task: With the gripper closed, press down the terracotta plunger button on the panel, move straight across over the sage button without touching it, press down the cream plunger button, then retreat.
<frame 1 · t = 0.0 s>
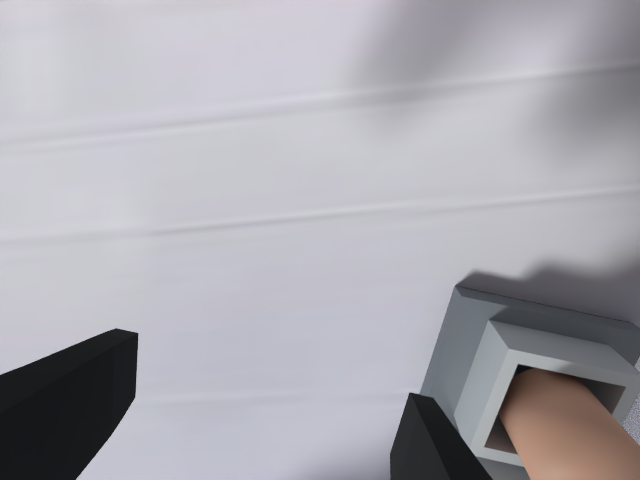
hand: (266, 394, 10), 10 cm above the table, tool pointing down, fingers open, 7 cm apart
button panel: (476, 466, 22), on the table
terracotta button: (565, 438, 15), point 5 cm above the table, slide at 0.0 cm
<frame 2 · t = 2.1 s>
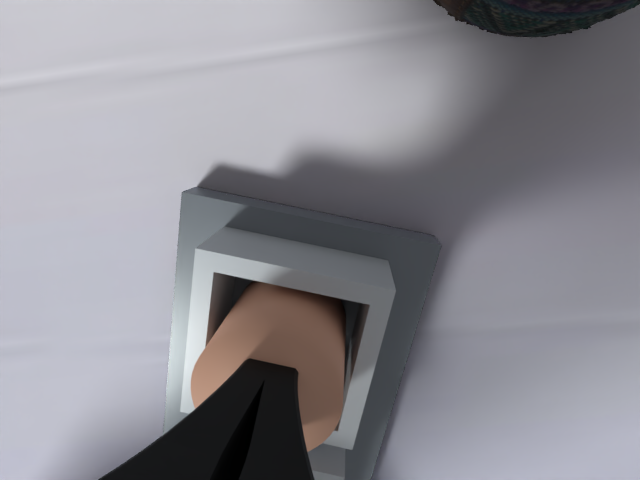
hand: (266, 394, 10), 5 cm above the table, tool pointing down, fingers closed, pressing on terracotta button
button panel: (271, 438, 17), on the table
terracotta button: (280, 352, 12), point 4 cm above the table, slide at 1.3 cm, touching gripper
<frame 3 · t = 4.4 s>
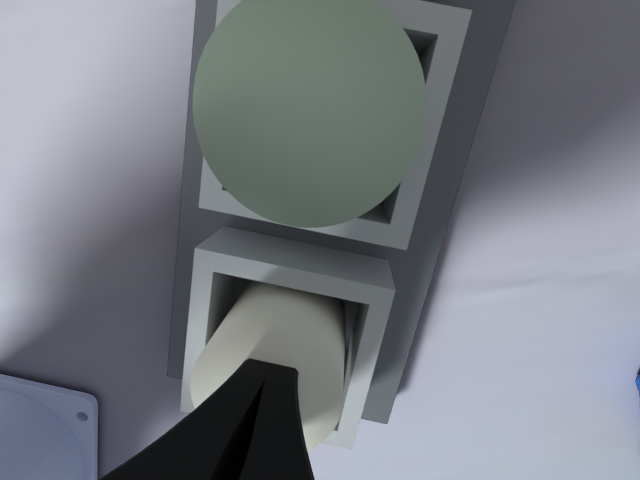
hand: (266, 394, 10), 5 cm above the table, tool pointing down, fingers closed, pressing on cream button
cream button: (279, 352, 12), point 4 cm above the table, slide at 1.3 cm, touching gripper
button panel: (330, 121, 13), on the table
sage button: (317, 117, 8), point 5 cm above the table, slide at 0.0 cm
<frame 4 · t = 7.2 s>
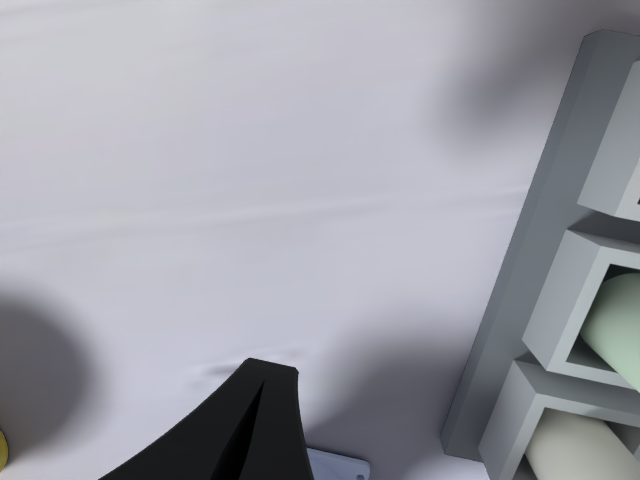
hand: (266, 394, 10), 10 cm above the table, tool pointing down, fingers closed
cream button: (573, 454, 18), point 4 cm above the table, slide at 1.3 cm
button panel: (588, 289, 19), on the table
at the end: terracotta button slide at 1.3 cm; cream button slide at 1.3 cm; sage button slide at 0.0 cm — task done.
